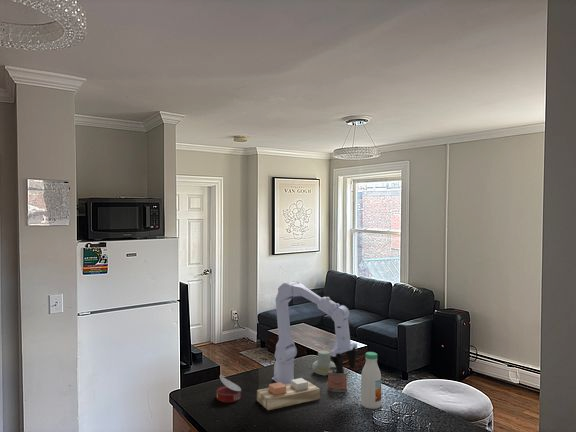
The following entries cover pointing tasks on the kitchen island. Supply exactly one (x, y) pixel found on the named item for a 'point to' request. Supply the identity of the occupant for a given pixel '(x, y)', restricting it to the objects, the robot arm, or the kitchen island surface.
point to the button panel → (287, 396)
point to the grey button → (299, 384)
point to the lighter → (337, 380)
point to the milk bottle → (371, 382)
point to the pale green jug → (323, 363)
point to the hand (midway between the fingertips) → (346, 370)
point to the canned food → (228, 391)
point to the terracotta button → (277, 388)
